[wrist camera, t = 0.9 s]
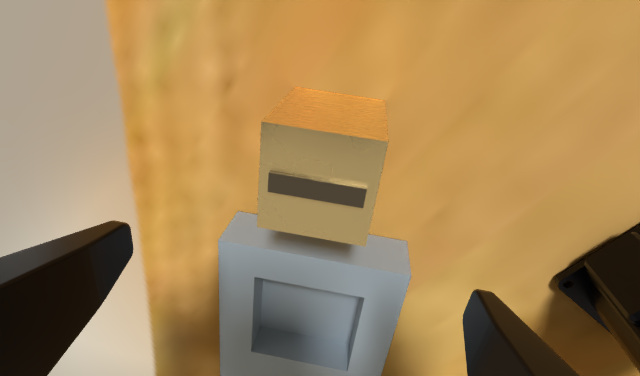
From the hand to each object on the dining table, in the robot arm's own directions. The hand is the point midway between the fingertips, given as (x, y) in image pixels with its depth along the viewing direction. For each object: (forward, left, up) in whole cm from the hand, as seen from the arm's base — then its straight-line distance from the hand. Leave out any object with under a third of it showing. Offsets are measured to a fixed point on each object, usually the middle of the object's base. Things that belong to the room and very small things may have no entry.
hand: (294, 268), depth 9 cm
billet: (0, 0, -11) cm, 11 cm away
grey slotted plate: (-9, +14, -11) cm, 20 cm away
